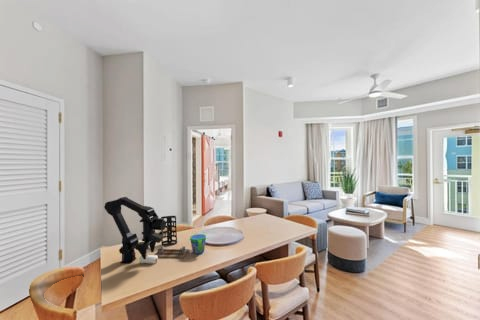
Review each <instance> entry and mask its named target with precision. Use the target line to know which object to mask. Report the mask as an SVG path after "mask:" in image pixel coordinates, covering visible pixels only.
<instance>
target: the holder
mask: <svg viewBox="0 0 480 320" xmlns="http://www.w3.org/2000/svg"><path fill="white" fill-rule="evenodd" d="M160 218H164V219H166V220H165V222H166V227H165V229H166V230H160V232H161V231H162V232H163V235H164V237H163V238H162V241H161V242H160V243H161V246H172V245H177V244H178V233H177V232H178V231H177V215H164V216H161V217H160ZM173 219H174V220H173ZM173 228H175V229H174V230H173ZM173 238H175V239H173ZM164 239H166V240H164Z"/></svg>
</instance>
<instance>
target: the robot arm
mask: <svg viewBox="0 0 480 320" xmlns="http://www.w3.org/2000/svg"><path fill="white" fill-rule="evenodd" d="M122 206H123V207H126V208H128V209H129V210H131V211H133V212H136V213H137V214H138V216H139V217H140V218H141V219H140V220H139V223H142V231H141V235H142V239H141V241H140V242H139V238H138V236H137V234H136V233H133V232H131V230H130V228H129V225H128V224H127V222H126V220H125V218H124V216H123V214H122ZM103 207H104V210H105V211H106V212H107V214H108V215H110V216H112V218H113V221H114V222H115V224H116V227H117V229H118V231H119V233H120V235H121V237H122V238H121V244H122V246H121V247H120V248H119V249H118V251H119V254H121V261H120V264H131V263H133V262H134V261H136V260H137V257H136V251H137V252H139V254H140V256H142V257H143V259H146V255H147V251H148V250H149V251H151V253H154V251H155V247H156V244H160V243H162V242H161V241H162V238H163V237H164V233H163V232H162V231H161V230H163V231H165V229H166V228H165V227H166V226H167V223H166V222H165V221H166V220H165V218H161V217H159V216H158V214H157V212H156V211H155V208H154V207H151V206H147V205H142V204H140V203H138V202H136V201H135V200H132V199H131V198H129V197H127V196H123V197H119V198H118V199H113V200H110V201H107V202H105V203H104V205H103ZM156 231H159V232H156ZM163 239H164V238H163Z"/></svg>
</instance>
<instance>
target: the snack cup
mask: <svg viewBox="0 0 480 320" xmlns="http://www.w3.org/2000/svg"><path fill="white" fill-rule="evenodd" d="M206 240H207V235H206V234H203V233H196V234H192V235H191V236H190V237H189V241H190V244H191V250H192V253H193V254H194V255H195V254H196V255H197V254H199V255H200V254H202V253H205V248H206Z"/></svg>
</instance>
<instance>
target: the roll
mask: <svg viewBox="0 0 480 320" xmlns="http://www.w3.org/2000/svg"><path fill="white" fill-rule="evenodd" d="M158 260H159V258H158V256H157V255H154V254H152V255H151V254H150V255H149V254H148V255H147V254H146V259H143V257H142V255H140V257H139V264H153V265H154V264H157V262H158Z"/></svg>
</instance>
